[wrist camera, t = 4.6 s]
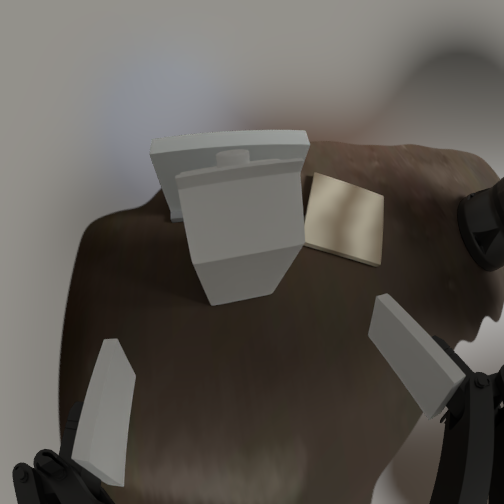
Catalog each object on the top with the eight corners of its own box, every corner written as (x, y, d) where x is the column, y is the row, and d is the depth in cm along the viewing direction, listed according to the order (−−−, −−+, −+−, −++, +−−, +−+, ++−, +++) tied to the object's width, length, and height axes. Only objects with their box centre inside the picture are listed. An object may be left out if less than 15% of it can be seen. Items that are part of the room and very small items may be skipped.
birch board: (380, 199, 37) (383, 196, 36) (377, 267, 33) (380, 264, 32) (312, 176, 37) (314, 172, 37) (299, 244, 33) (301, 240, 33)
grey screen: (283, 187, 36) (302, 123, 25) (289, 213, 35) (312, 152, 24) (172, 195, 35) (152, 132, 24) (172, 222, 33) (148, 162, 22)
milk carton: (272, 294, 31) (324, 213, 13) (211, 306, 30) (181, 237, 12) (258, 238, 33) (285, 118, 16) (200, 248, 32) (171, 132, 15)
